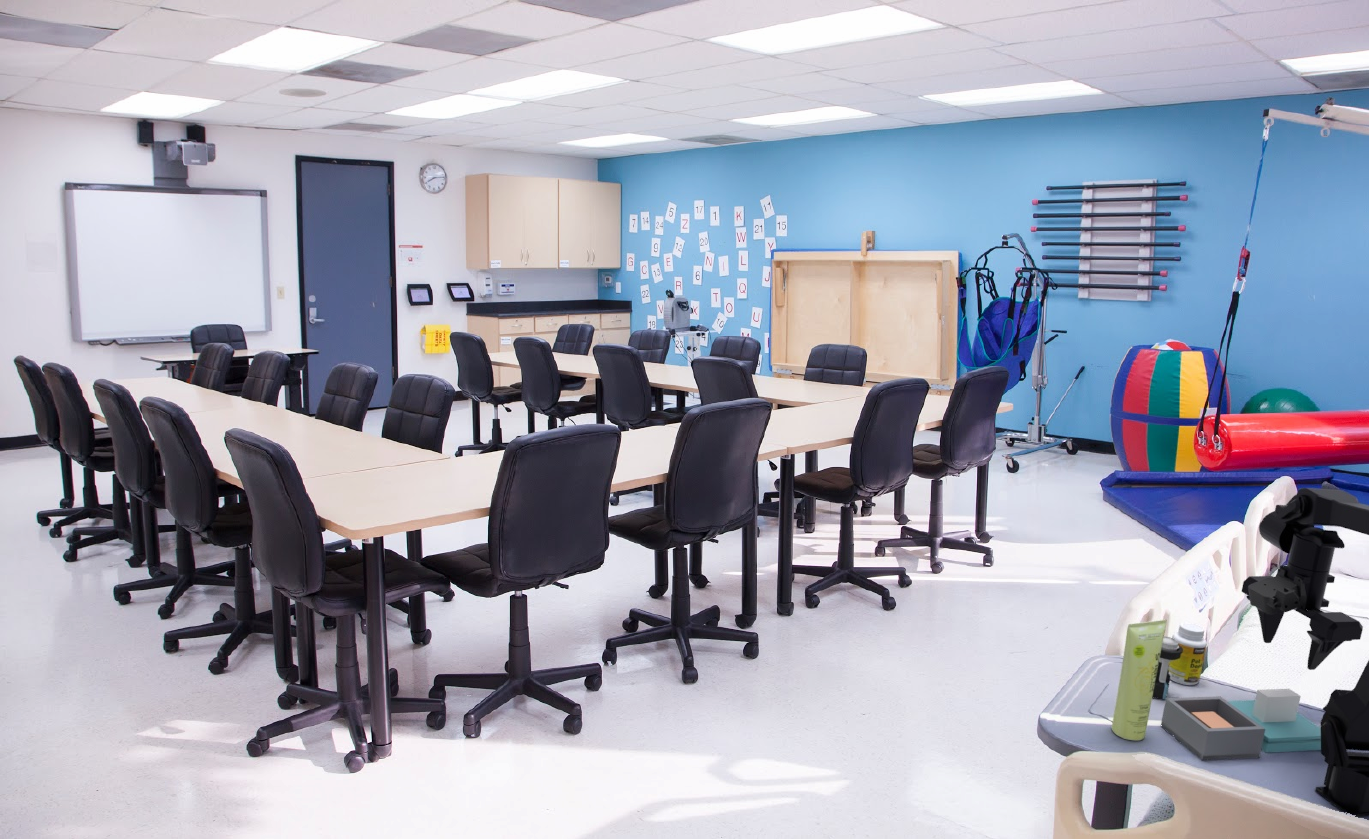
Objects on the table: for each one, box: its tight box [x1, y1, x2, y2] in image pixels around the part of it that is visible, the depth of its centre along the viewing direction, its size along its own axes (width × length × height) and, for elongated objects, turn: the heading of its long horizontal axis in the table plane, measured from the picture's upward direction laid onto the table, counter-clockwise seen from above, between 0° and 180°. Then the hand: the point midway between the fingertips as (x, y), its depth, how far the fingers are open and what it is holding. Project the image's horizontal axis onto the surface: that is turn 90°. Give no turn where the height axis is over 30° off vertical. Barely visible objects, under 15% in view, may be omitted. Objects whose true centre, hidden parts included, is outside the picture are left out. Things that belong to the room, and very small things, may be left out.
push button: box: [1152, 635, 1183, 701], centre depth 171 cm, size 7×5×10 cm
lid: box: [1227, 688, 1321, 754], centre depth 160 cm, size 11×11×7 cm
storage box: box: [1160, 695, 1265, 762], centre depth 156 cm, size 10×10×5 cm
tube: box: [1111, 618, 1167, 741], centre depth 155 cm, size 6×5×20 cm
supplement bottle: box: [1168, 622, 1208, 686], centre depth 177 cm, size 6×6×10 cm
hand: (1288, 655), depth 159 cm, fingers open, 9 cm apart
